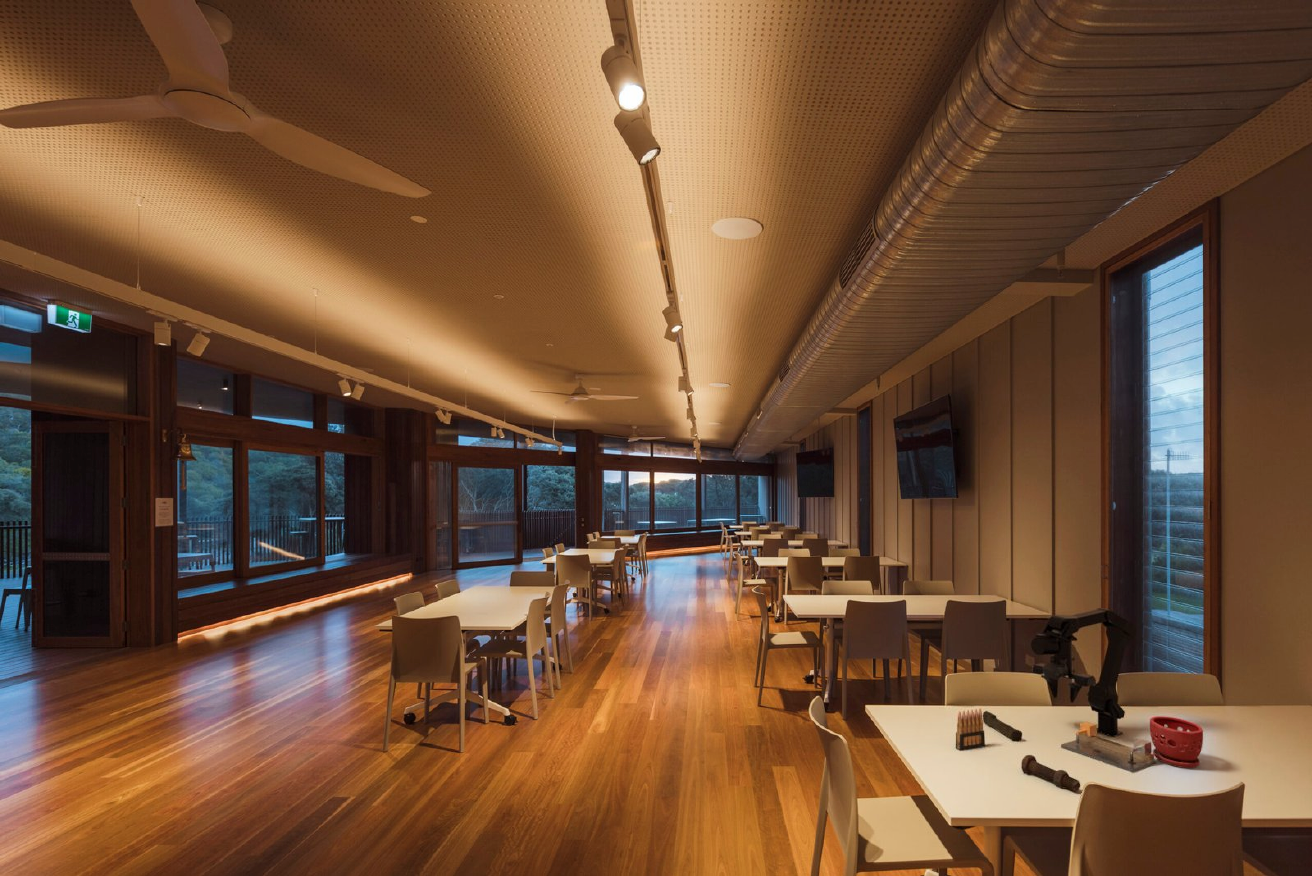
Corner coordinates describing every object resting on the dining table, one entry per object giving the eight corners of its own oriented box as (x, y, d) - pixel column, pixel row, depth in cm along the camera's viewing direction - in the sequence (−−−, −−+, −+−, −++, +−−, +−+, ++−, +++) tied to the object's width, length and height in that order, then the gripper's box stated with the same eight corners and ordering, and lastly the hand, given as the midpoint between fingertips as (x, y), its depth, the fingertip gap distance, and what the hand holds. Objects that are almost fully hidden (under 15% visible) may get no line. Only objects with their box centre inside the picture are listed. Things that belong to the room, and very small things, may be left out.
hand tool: (1023, 742, 223) (1023, 728, 223) (1011, 742, 223) (1011, 728, 223) (990, 722, 242) (990, 709, 242) (980, 722, 242) (980, 709, 242)
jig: (1085, 740, 225) (1084, 721, 226) (1156, 763, 207) (1155, 743, 207) (1061, 747, 218) (1060, 728, 219) (1132, 772, 200) (1131, 751, 201)
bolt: (1075, 800, 185) (1024, 777, 199) (1085, 788, 187) (1034, 766, 201) (1069, 784, 184) (1018, 761, 198) (1079, 772, 186) (1028, 750, 200)
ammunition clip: (980, 744, 220) (980, 707, 221) (985, 746, 218) (984, 708, 219) (955, 748, 216) (955, 710, 217) (960, 750, 214) (959, 712, 215)
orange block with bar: (1087, 737, 224) (1087, 721, 225) (1096, 740, 222) (1096, 724, 222) (1072, 741, 220) (1071, 725, 220) (1081, 745, 217) (1081, 728, 218)
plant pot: (1141, 757, 212) (1140, 718, 212) (1167, 751, 217) (1165, 713, 218) (1187, 774, 200) (1186, 733, 200) (1214, 767, 205) (1212, 727, 206)
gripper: (1022, 650, 235) (1023, 695, 234) (1077, 663, 219) (1078, 712, 218) (1040, 646, 240) (1041, 691, 239) (1096, 659, 224) (1097, 707, 223)
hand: (1063, 700), depth 230 cm, fingers open, 5 cm apart
